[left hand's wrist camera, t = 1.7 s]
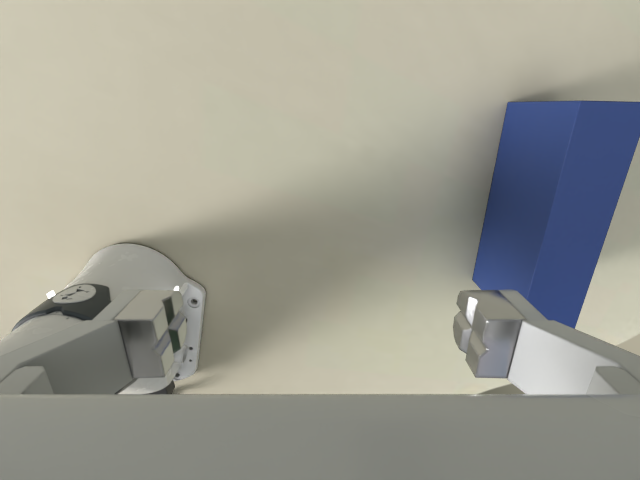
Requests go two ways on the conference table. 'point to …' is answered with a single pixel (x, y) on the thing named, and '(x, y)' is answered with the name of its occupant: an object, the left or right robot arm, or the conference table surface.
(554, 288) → the box
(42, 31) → the conference table surface
